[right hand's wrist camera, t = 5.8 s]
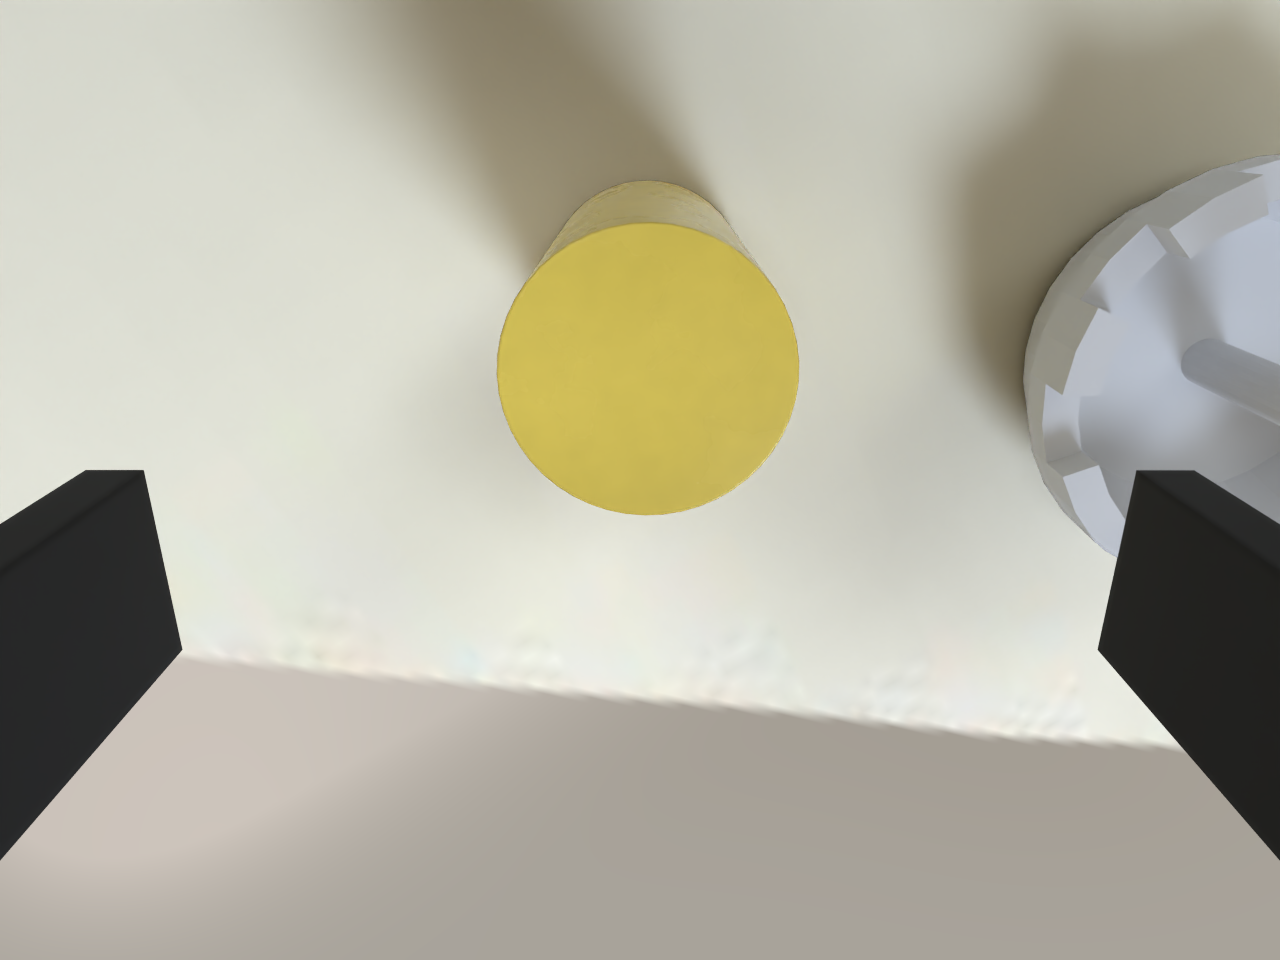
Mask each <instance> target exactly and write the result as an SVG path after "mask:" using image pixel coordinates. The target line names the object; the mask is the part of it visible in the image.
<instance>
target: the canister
mask: <svg viewBox="0 0 1280 960" xmlns="http://www.w3.org/2000/svg"><path fill="white" fill-rule="evenodd" d="M497 381H498V391H499V396H500V400H501V404H502V408H503V412H504V415H505V417H506V420H507V422H508V425H509V428H510V430H511V432H512V434H513V435H514V437H515V439H516V441H517V443H518V444H519V446H520V448H521V449H522V450H523V452H524V453H525V454H526V456H527V457H528V458H529V460H530V461H531V462H532V463H533V464H534V465H535V466H536V467H537V469H538V470H539V471H540V472H541V473H542V474H543V475H544V476H546V477H547V478H548V479H549V480H551V481H552V482H553V483H554V484H555V485H557V486H558V487H560V488H561V489H563V490H564V491H566V492H567V493H569V494H571V495H572V496H574V497H576V498H578V499H580V500H582V501H584V502H587V503H589V504H591V505H594V506H597V507H600V508H603V509H606V510H610V511H615V512H620V513H625V514H636V515H662V514H669V513H675V512H681V511H685V510H688V509H692V508H695V507H699V506H701V505H704V504H706V503H709V502H711V501H713V500H716V499H718V498H719V497H721V496H723V495H725V494H726V493H728V492H730V491H732V490H733V489H734V488H736V487H737V486H738V485H740V484H741V483H742V482H744V481H745V480H746V479H748V478H749V477H750V476H751V475H752V474H753V473H754V472H755V471H756V470H757V469H758V468H759V467H760V466H761V465H762V464H763V463H764V461H765V460H766V459H767V458H768V456H769V455H770V454H771V453H772V451H773V450H774V448H775V447H776V445H777V443H778V442H779V440H780V439H781V437H782V435H783V433H784V431H785V429H786V426H787V424H788V422H789V420H790V417H791V414H792V410H793V407H794V404H795V400H796V395H797V388H798V382H799V356H798V348H797V341H796V337H795V333H794V329H793V325H792V322H791V320H790V317H789V315H788V312H787V310H786V307H785V305H784V303H783V302H782V300H781V298H780V296H779V295H778V293H777V291H776V289H775V288H774V286H773V285H772V284H771V282H770V281H769V279H768V278H767V277H766V275H765V274H764V273H763V271H762V270H761V268H760V267H759V266H758V264H757V263H756V261H755V260H754V259H753V257H752V256H751V255H750V253H749V252H748V250H747V249H746V248H745V246H744V245H743V243H742V242H741V241H740V239H739V238H738V237H737V235H736V234H735V232H734V231H733V230H732V228H731V227H730V226H729V224H728V223H727V222H726V220H725V219H724V218H723V216H722V215H721V214H720V213H719V212H718V211H717V210H716V209H715V208H714V207H713V206H712V205H711V204H710V203H709V202H707V201H706V200H705V199H703V198H702V197H701V196H699V195H697V194H696V193H694V192H692V191H690V190H688V189H686V188H683V187H681V186H678V185H675V184H671V183H667V182H662V181H651V180H645V181H633V182H627V183H622V184H619V185H616V186H613V187H610V188H608V189H606V190H604V191H602V192H600V193H598V194H596V195H595V196H593V197H592V198H590V199H589V200H587V201H586V202H585V203H584V204H583V205H582V206H581V207H579V208H578V209H577V210H576V211H575V213H574V214H573V215H572V216H571V217H570V218H569V220H568V221H567V222H566V224H565V225H564V227H563V228H562V230H561V231H560V233H559V234H558V236H557V237H556V239H555V240H554V241H553V243H552V244H551V246H550V247H549V249H548V250H547V252H546V253H545V255H544V256H543V258H542V259H541V260H540V262H539V263H538V265H537V266H536V268H535V269H534V271H533V272H532V274H531V275H530V277H529V278H528V279H527V281H526V282H525V284H524V286H523V287H522V289H521V290H520V292H519V293H518V295H517V296H516V298H515V300H514V302H513V304H512V306H511V308H510V310H509V312H508V315H507V317H506V320H505V323H504V326H503V329H502V333H501V336H500V342H499V348H498V354H497Z"/></svg>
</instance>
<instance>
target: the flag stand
mask: <svg viewBox="0 0 1280 960" xmlns="http://www.w3.org/2000/svg"><path fill="white" fill-rule="evenodd" d="M1023 383H1024V391H1025V399H1026V407H1027V416H1028V424H1029V432H1030V440H1031V448H1032V452H1033V455H1034V457H1035V460H1036V463H1037V465H1038V468H1039V471H1040V474H1041V476H1042V479H1043V482H1044V484H1045V485H1046V487H1047V488H1048V490H1049V491H1050V493H1051V494H1052V496H1053V497H1054V499H1055V500H1056V502H1057V503H1058V505H1059V506H1060V508H1061V509H1062V511H1063V512H1064V513H1065V514H1066V515H1067V516H1068V517H1069V518H1070V519H1071V520H1072V521H1073V522H1074V523H1076V524H1077V525H1078V526H1079V527H1080V528H1081V529H1082V530H1083V531H1084V532H1085V533H1086V534H1087V535H1088V536H1089V537H1090V538H1091V539H1092V540H1093V541H1094V542H1095V543H1097V544H1098V545H1099V546H1100V547H1102V548H1103V549H1104V550H1105V551H1107V552H1108V553H1110V554H1112V555H1114V556H1115V557H1117V558H1118V553H1119V548H1120V544H1121V539H1122V535H1123V530H1124V525H1125V521H1126V516H1127V511H1128V507H1129V502H1130V497H1131V493H1132V488H1133V483H1134V479H1135V474H1136V470H1195V471H1196V472H1198V473H1200V474H1201V475H1203V476H1204V477H1206V478H1207V479H1209V480H1211V481H1212V482H1214V483H1215V484H1217V485H1219V486H1220V487H1222V488H1223V489H1225V490H1227V491H1228V492H1230V493H1231V494H1233V495H1234V496H1236V497H1238V498H1239V499H1241V500H1242V501H1244V502H1246V503H1247V504H1249V505H1250V506H1252V507H1253V508H1255V509H1257V510H1258V511H1260V512H1261V513H1263V514H1265V515H1266V516H1268V517H1269V518H1271V519H1272V520H1274V521H1276V522H1277V523H1279V524H1280V154H1279V155H1266V156H1258V157H1254V158H1250V159H1247V160H1243V161H1240V162H1236V163H1232V164H1229V165H1225V166H1221V167H1218V168H1214V169H1211V170H1209V171H1207V172H1205V173H1203V174H1201V175H1199V176H1197V177H1194V178H1192V179H1190V180H1188V181H1186V182H1184V183H1182V184H1180V185H1178V186H1176V187H1174V188H1171V189H1169V190H1167V191H1166V192H1164V193H1163V194H1161V195H1160V196H1159V197H1157V198H1154V199H1152V200H1150V201H1148V202H1146V203H1144V204H1142V205H1140V206H1138V207H1136V208H1133V209H1131V210H1129V211H1127V212H1126V213H1125V214H1123V215H1122V216H1120V217H1119V218H1118V219H1116V220H1115V221H1113V222H1112V223H1110V224H1109V225H1108V226H1106V227H1105V228H1103V229H1102V230H1100V231H1099V232H1098V233H1097V234H1096V235H1094V236H1093V237H1092V238H1091V239H1090V240H1089V241H1088V242H1087V243H1086V244H1085V245H1084V246H1083V247H1082V248H1081V249H1080V250H1079V251H1078V252H1077V253H1076V254H1075V255H1074V256H1073V257H1072V258H1071V259H1070V261H1069V262H1068V263H1067V265H1066V266H1065V268H1064V269H1063V270H1062V272H1061V273H1060V274H1059V276H1058V277H1057V278H1056V280H1055V281H1054V283H1053V284H1052V285H1051V287H1050V288H1049V290H1048V292H1047V294H1046V296H1045V299H1044V301H1043V303H1042V305H1041V307H1040V309H1039V311H1038V313H1037V315H1036V317H1035V319H1034V323H1033V326H1032V330H1031V333H1030V337H1029V340H1028V344H1027V347H1026V352H1025V364H1024V376H1023Z"/></svg>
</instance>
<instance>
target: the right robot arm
mask: <svg viewBox="0 0 1280 960" xmlns="http://www.w3.org/2000/svg"><path fill="white" fill-rule="evenodd" d="M181 651H182V646H181V641H180V637H179V632H178V627H177V623H176V618H175V613H174V609H173V604H172V599H171V595H170V590H169V586H168V581H167V576H166V572H165V567H164V562H163V558H162V553H161V548H160V544H159V539H158V535H157V530H156V525H155V521H154V516H153V511H152V507H151V502H150V497H149V493H148V488H147V484H146V479H145V474H144V470H85V471H84V472H82V473H80V474H79V475H77V476H76V477H74V478H73V479H71V480H69V481H68V482H66V483H65V484H63V485H61V486H60V487H58V488H57V489H55V490H53V491H52V492H50V493H49V494H47V495H46V496H44V497H42V498H41V499H39V500H38V501H36V502H34V503H33V504H31V505H30V506H28V507H27V508H25V509H23V510H22V511H20V512H19V513H17V514H15V515H14V516H12V517H11V518H9V519H8V520H6V521H4V522H3V523H1V524H0V860H1V859H2V858H3V857H4V855H5V854H6V853H7V852H8V851H9V850H10V848H11V847H12V846H13V845H14V844H15V843H16V841H17V840H18V839H19V838H20V837H21V836H22V835H23V833H24V832H25V831H26V830H27V829H28V828H29V826H30V825H31V824H32V823H33V822H34V821H35V820H36V818H37V817H38V816H39V815H40V814H41V813H42V811H43V810H44V809H45V808H46V807H47V806H48V804H49V803H50V802H51V801H52V800H53V799H54V798H55V796H56V795H57V794H58V793H59V792H60V791H61V789H62V788H63V787H64V786H65V785H66V784H67V783H68V781H69V780H70V779H71V778H72V777H73V776H74V774H75V773H76V772H77V771H78V770H79V769H80V767H81V766H82V765H83V764H84V763H85V762H86V761H87V759H88V758H89V757H90V756H91V755H92V754H93V752H94V751H95V750H96V749H97V748H98V747H99V746H100V744H101V743H102V742H103V741H104V740H105V739H106V737H107V736H108V735H109V734H110V733H111V732H112V730H113V729H114V728H115V727H116V726H117V725H118V724H119V722H120V721H121V720H122V719H123V718H124V717H125V715H126V714H127V713H128V712H129V711H130V710H131V708H132V707H133V706H134V705H135V704H136V703H137V702H138V700H139V699H140V698H141V697H142V696H143V695H144V693H145V692H146V691H147V690H148V689H149V688H150V687H151V685H152V684H153V683H154V682H155V681H156V680H157V678H158V677H159V676H160V675H161V674H162V673H163V671H164V670H165V669H166V668H167V667H168V666H169V665H170V663H171V662H172V661H173V660H174V659H175V658H176V656H177V655H178V654H179V653H180V652H181ZM1098 651H1099V652H1100V653H1101V654H1102V655H1103V656H1104V658H1105V659H1106V660H1107V661H1108V662H1109V663H1110V665H1111V666H1112V667H1113V668H1114V669H1115V670H1116V671H1117V673H1118V674H1119V675H1120V676H1121V677H1122V678H1123V680H1124V681H1125V682H1126V683H1127V684H1128V685H1129V687H1130V688H1131V689H1132V690H1133V691H1134V692H1135V693H1136V695H1137V696H1138V697H1139V698H1140V699H1141V700H1142V702H1143V703H1144V704H1145V705H1146V706H1147V707H1148V709H1149V710H1150V711H1151V712H1152V713H1153V714H1154V715H1155V717H1156V718H1157V719H1158V720H1159V721H1160V722H1161V724H1162V725H1163V726H1164V727H1165V728H1166V729H1167V730H1168V732H1169V733H1170V734H1171V735H1172V736H1173V737H1174V739H1175V740H1176V741H1177V742H1178V743H1179V744H1180V746H1181V747H1182V748H1183V749H1184V750H1185V751H1186V752H1187V754H1188V755H1189V756H1190V757H1191V758H1192V759H1193V761H1194V762H1195V763H1196V764H1197V765H1198V766H1199V767H1200V769H1201V770H1202V771H1203V772H1204V773H1205V774H1206V776H1207V777H1208V778H1209V779H1210V780H1211V781H1212V783H1213V784H1214V785H1215V786H1216V787H1217V788H1218V789H1219V791H1220V792H1221V793H1222V794H1223V795H1224V796H1225V797H1226V799H1227V800H1228V801H1229V802H1230V803H1231V804H1232V806H1233V807H1234V808H1235V809H1236V810H1237V811H1238V813H1239V814H1240V815H1241V816H1242V817H1243V818H1244V820H1245V821H1246V822H1247V823H1248V824H1249V825H1250V826H1251V828H1252V829H1253V830H1254V831H1255V832H1256V833H1257V834H1258V836H1259V837H1260V838H1261V839H1262V840H1263V841H1264V843H1265V844H1266V845H1267V846H1268V847H1269V848H1270V850H1271V851H1272V852H1273V853H1274V854H1275V855H1276V856H1277V858H1278V859H1279V860H1280V524H1279V523H1277V522H1276V521H1274V520H1272V519H1271V518H1269V517H1268V516H1266V515H1265V514H1263V513H1261V512H1260V511H1258V510H1257V509H1255V508H1253V507H1252V506H1250V505H1249V504H1247V503H1246V502H1244V501H1242V500H1241V499H1239V498H1238V497H1236V496H1234V495H1233V494H1231V493H1230V492H1228V491H1227V490H1225V489H1223V488H1222V487H1220V486H1219V485H1217V484H1215V483H1214V482H1212V481H1211V480H1209V479H1207V478H1206V477H1204V476H1203V475H1201V474H1200V473H1198V472H1196V471H1195V470H1136V474H1135V479H1134V483H1133V488H1132V493H1131V497H1130V502H1129V507H1128V511H1127V516H1126V521H1125V525H1124V530H1123V535H1122V539H1121V544H1120V548H1119V553H1118V558H1117V562H1116V567H1115V572H1114V576H1113V581H1112V586H1111V590H1110V595H1109V599H1108V604H1107V609H1106V613H1105V618H1104V623H1103V627H1102V632H1101V637H1100V641H1099V646H1098Z"/></svg>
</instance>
